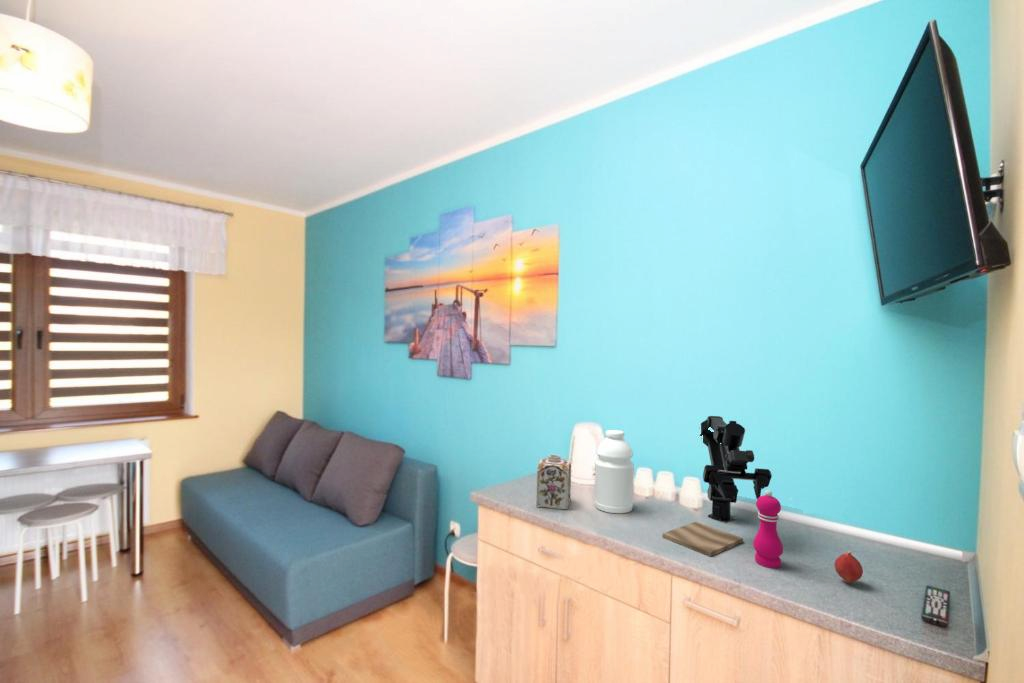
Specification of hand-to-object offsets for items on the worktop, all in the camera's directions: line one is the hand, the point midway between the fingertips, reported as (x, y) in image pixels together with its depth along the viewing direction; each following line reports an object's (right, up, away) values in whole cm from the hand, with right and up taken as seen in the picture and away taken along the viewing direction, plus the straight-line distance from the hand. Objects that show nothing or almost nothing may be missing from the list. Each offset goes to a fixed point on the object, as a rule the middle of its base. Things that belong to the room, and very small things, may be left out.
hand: (742, 499), depth 137 cm
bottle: (-31, -15, +34) cm, 48 cm away
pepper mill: (+3, -15, -9) cm, 17 cm away
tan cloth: (-9, -15, +6) cm, 18 cm away
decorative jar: (-52, -14, +36) cm, 65 cm away
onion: (+18, -15, -19) cm, 30 cm away
